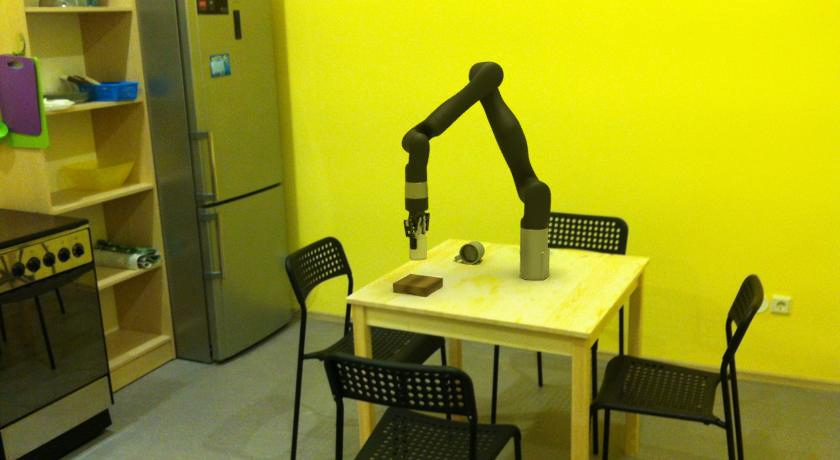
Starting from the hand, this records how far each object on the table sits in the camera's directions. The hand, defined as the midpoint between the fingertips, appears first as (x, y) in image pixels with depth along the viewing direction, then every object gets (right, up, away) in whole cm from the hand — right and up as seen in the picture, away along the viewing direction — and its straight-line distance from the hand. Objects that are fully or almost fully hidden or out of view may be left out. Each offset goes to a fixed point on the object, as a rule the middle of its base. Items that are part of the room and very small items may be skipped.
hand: (417, 247), depth 260 cm
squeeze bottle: (0, -4, +1) cm, 4 cm away
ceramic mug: (+19, -6, +35) cm, 40 cm away
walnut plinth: (0, -14, +3) cm, 14 cm away
